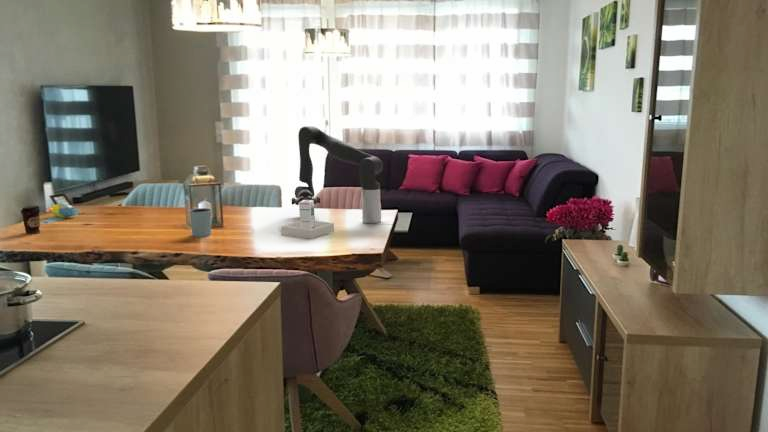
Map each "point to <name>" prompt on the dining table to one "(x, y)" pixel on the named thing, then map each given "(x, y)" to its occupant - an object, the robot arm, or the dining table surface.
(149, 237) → the dining table surface
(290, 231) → the tray
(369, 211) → the robot arm
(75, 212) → the blue yellow toy
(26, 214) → the coffee cup
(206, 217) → the grey tapered cup
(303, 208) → the syrup box
